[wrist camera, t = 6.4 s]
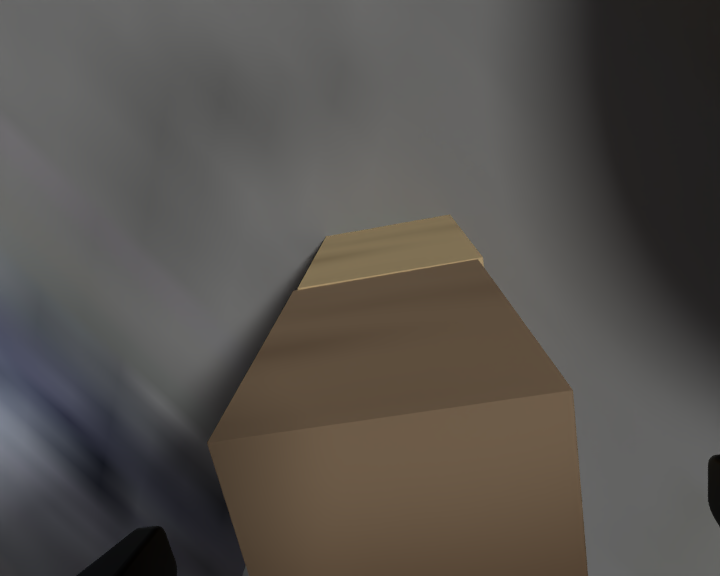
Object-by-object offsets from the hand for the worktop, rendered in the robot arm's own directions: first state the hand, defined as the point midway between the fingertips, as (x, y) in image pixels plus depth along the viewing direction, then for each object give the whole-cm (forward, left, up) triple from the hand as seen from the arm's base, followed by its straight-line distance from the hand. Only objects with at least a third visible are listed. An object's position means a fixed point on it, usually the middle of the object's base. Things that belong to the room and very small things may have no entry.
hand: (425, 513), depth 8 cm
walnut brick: (0, 0, -2) cm, 2 cm away
